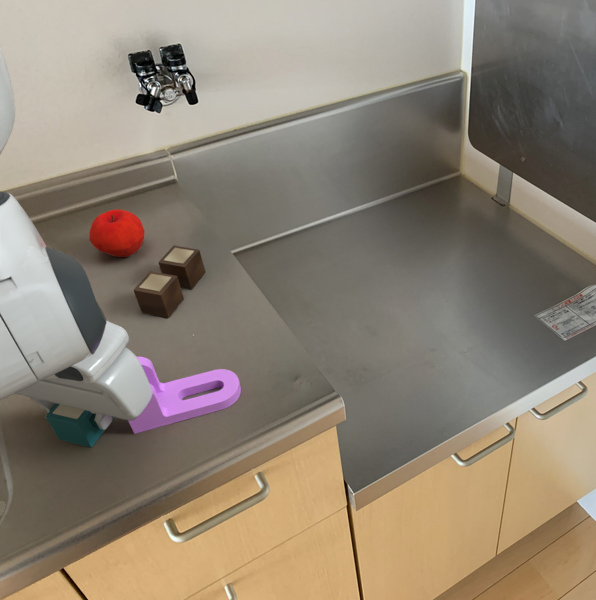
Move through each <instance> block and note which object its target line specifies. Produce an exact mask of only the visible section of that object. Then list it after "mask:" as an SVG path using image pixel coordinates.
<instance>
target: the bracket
mask: <svg viewBox="0 0 596 600" xmlns="http://www.w3.org/2000/svg"><path fill="white" fill-rule="evenodd" d="M136 357H137V358H138V360H139V362H140V363H141V365H142V367H143V370H144V372H145V374H146V376H147V378H148V381H149V383H150V386H151V389H152V398H151V400H150V402H149V403H148V405H147V406H146V408H145V409H144V410H143V411H142V413H141V414H140V415H139V416H138V417H137V418H136V419H135V420H133V421H128V423H129V426H130V428H131V429H132V432H133V434H134V435H136V434H139V433H143V432H147V431H151V430H154V429H157V428H162V427H165V426H168V425H171V424H175V423H179V422H182V421H186V420H189V419H193V418H197V417H200V416H204V415H208V414H211V413H216V412H218V411H222V410H225V409H227V408H229V407H231V406H232V405H234V404H235V403H236V402H237V401H238V399H240V397H241V392H242V387H241V383H240V379H239V377H238V375H237V374H236V373H235V372H233V371H231V370H229V369H225V368H219V369H213V370H209V371H205V372H202V373H197V374H194V375H190V376H186V377H182V378H178V379H174V380H171V381H168V382H160V380H159V377H158V374H157V371H156V369H155V367H154V365H153V362H152V361H151V360H150V359H149V358H147V357H145V356H136ZM220 388H221V389H220ZM215 389H220V390H216V391H213V392H210V393H205V394H202V395H199V396H195V397H191V398H187V399H184V398H186V397H190V396H193V395H197V394H200V393H203V392H208V391H211V390H215Z"/></svg>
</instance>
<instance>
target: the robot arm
mask: <svg viewBox="0 0 596 600" xmlns="http://www.w3.org/2000/svg"><path fill="white" fill-rule="evenodd" d="M8 69H9V68H8V66H7V63H6V59H5V56H4V53H3V49H2V47H1V46H0V155H1V154H2V153H3V151H4V149H5V147H6V145H7V144H8V141H9V139H10V137H11V134H12V132H13V128H14V125H15V121H16V120H15V119H16V102H15V101H16V100H15V96H14V90H13V86H12V80H11V77H10V73H9V70H8ZM129 342H130V336H129V334H128V332H127V330H126V329H125V328H123V327H122V326H120V325H118V324H115V323H113V322H111V321H109V320H107V318H106V316H105V313H104V311H103V310H102V307H100V305H99V303H98V302H97V299H96V296H95V294H94V290H93V288H92V285H91V282H90V280H89V277H88V275H87V271H86V270H85V269H84V267H83V265H82V264H81V263H80V261H78V259H76V258H75V257H73V256H71V255H69V254H66V253H64V252H62V251H61V250H58V249H56V248H54V247H50V246H47V245H46V243H45V241H44V240H43V237H42V236H41V234H40V232H39V231H38V229H37V227H36V226H35V224H34V223H33V221H32V220H31V217H29V215H28V214H27V212H26V210H24V208H23V207H22V205H21V204H20V203H19V201H18V200H17V198H16V197H15V196H14V195H12V194H11V193H10V192H7V191H0V401H2V400H5V399H7V398H8V397H11V396H13V395H18V396H23V397H26V398H29V399H30V400H31V401H32V402H34V403H36V404H37V405H38V406H39V407H41V408H42V409H43V410H45V411H46V414H48V412H49V411H50V410H51V409H52V408H53V407H54V406H55V404H61V405H65V406H69V407H73V408H78V409H82V410H86V411H90V412H91V413H94V414H93V415H92V416H91V417H90V419H89V421H90V422H91V424H92V426H93V427H95V428H99V429H103V430H105V431H106V429H108V428H109V426H110V425H111V423H112V422H113V420H112V417H113V418H117V419H121V420H125V421H128V422H129V421H133V420H135V419H136V418H137V417H138V416H139V415H140V414H141V413H142V411H143V410H144V409H145V408H146V406H147V405H148V403H149V402H150V400H151V398H152V389H151V386H150V383H149V381H148V378H147V376H146V374H145V372H144V370H143V367H142V365H141V363H140V362H139V360H138V358H137V357H138V356H137V355H136V354H135V353H134V352H133V351H131V349H129V348H128V347H126V346H127V345H128V343H129Z"/></svg>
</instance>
